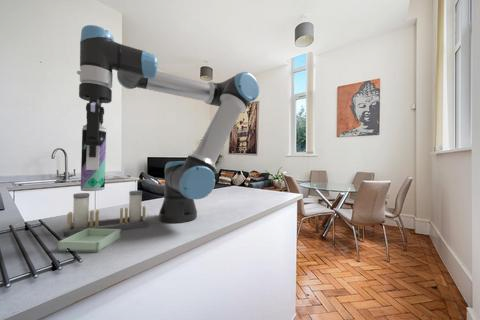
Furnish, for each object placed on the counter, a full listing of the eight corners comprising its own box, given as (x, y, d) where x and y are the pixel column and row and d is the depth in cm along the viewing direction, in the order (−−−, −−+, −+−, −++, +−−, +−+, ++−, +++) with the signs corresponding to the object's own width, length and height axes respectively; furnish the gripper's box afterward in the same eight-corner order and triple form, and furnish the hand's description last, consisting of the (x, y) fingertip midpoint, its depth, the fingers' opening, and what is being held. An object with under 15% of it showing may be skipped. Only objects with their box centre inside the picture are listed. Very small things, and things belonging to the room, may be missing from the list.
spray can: (77, 191, 55) (79, 115, 55) (83, 188, 60) (85, 118, 60) (102, 190, 57) (104, 117, 57) (106, 188, 62) (108, 120, 62)
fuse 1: (91, 228, 71) (92, 193, 71) (82, 232, 66) (83, 195, 66) (79, 228, 71) (80, 192, 71) (68, 232, 66) (70, 194, 66)
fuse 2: (143, 222, 79) (144, 190, 79) (137, 226, 74) (138, 192, 74) (132, 222, 79) (133, 190, 79) (126, 225, 74) (127, 192, 74)
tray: (120, 237, 64) (120, 229, 64) (97, 252, 53) (98, 242, 53) (87, 236, 64) (87, 228, 64) (58, 251, 53) (58, 241, 53)
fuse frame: (144, 219, 82) (144, 204, 82) (146, 226, 74) (147, 209, 74) (70, 227, 71) (70, 210, 71) (63, 236, 63) (64, 216, 63)
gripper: (84, 92, 64) (82, 167, 64) (72, 71, 48) (69, 171, 48) (112, 96, 68) (110, 167, 68) (110, 78, 52) (107, 171, 52)
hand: (93, 169), depth 58 cm, fingers closed on spray can, 5 cm apart
